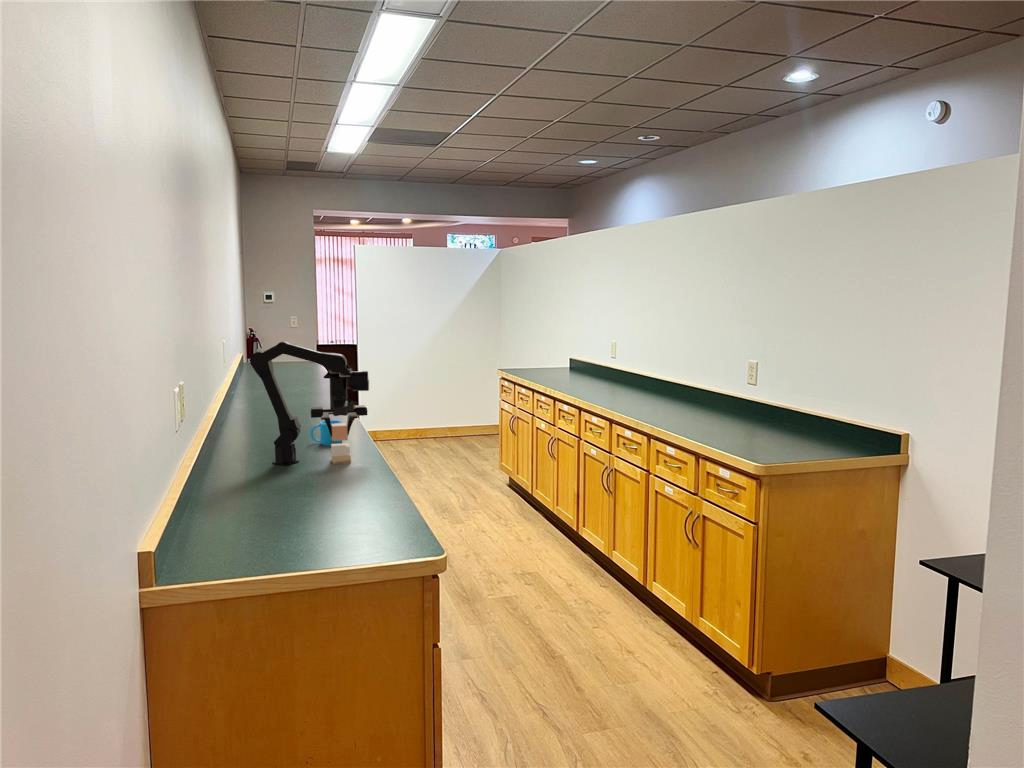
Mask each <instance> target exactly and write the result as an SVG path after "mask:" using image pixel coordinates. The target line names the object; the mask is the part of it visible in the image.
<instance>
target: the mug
mask: <svg viewBox="0 0 1024 768" xmlns="http://www.w3.org/2000/svg"><path fill="white" fill-rule="evenodd" d="M330 422H331V424H340V423H343V422H342V420H330ZM317 428H319V432H320V433H319V434H320V435H319V437H320V439H317V438H315V436H314V435H313V433H314V432H313V431H314V430H315V429H317ZM309 436H310V438H311V439H312V440H313V441H314V442H316V443H320V445H323V446H331V444H342V443H343V440H341V441H332V438H331V435H330V433H329V430H328V427H327V424H326V422H325V420H322V421H320V422H319V424H317V425H314V426H313V427H312V428H311V429H310V431H309Z"/></svg>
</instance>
